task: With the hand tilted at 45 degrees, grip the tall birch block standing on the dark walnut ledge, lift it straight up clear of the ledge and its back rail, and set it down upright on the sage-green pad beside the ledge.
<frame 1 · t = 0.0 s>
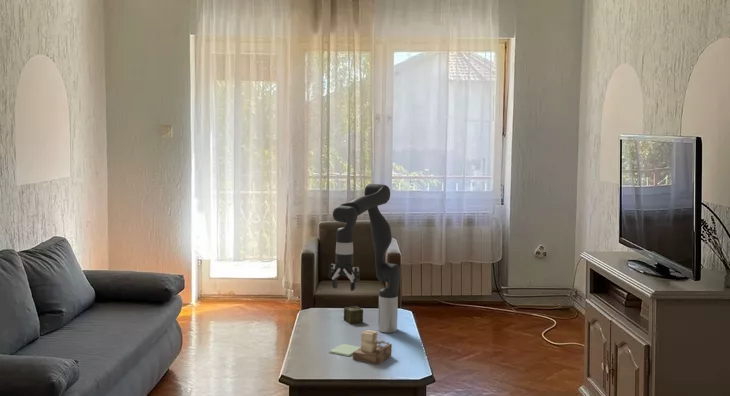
hand: (343, 289, 313), 29 cm above the table, tool pointing down, fingers open, 8 cm apart
walnut ledge: (370, 357, 314), on the table
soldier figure: (376, 347, 329), on the table
olive green cube: (353, 322, 370), on the table
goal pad: (345, 350, 322), on the table
birch block: (368, 350, 314), point 3 cm above the table, touching walnut ledge
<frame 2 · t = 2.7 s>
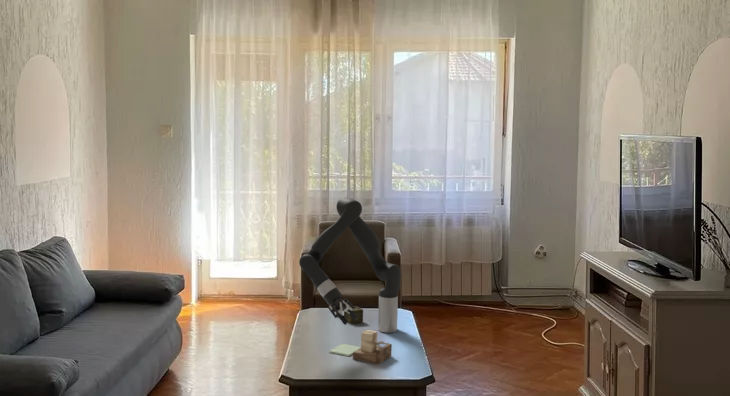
hand: (351, 321, 317), 14 cm above the table, tool tilted 45°, fingers open, 8 cm apart
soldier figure: (374, 348, 328), on the table
everything else where it was.
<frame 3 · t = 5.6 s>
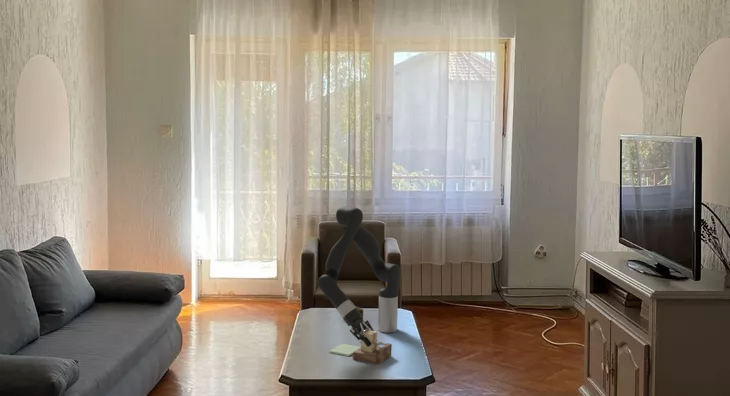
hand: (372, 343, 313), 6 cm above the table, tool tilted 45°, fingers closed on birch block, 5 cm apart
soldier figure: (373, 349, 327), on the table
birch block: (368, 350, 314), point 3 cm above the table, touching gripper, walnut ledge
everything else where it was.
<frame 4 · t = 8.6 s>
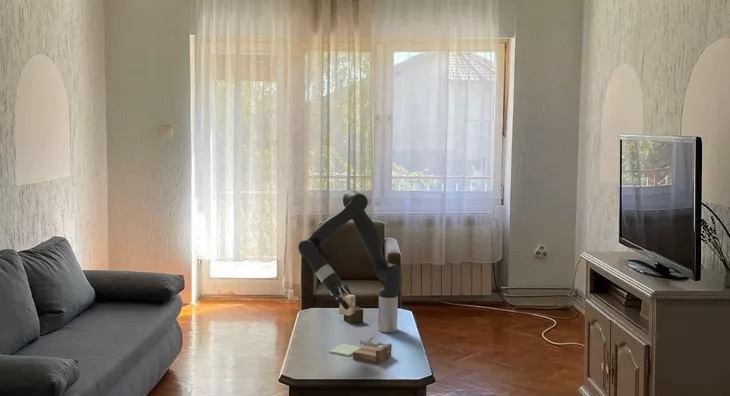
hand: (350, 307, 319), 20 cm above the table, tool tilted 45°, fingers closed on birch block, 5 cm apart
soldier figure: (373, 350, 325), on the table
birch block: (347, 313, 320), point 17 cm above the table, touching gripper
everything else where it was.
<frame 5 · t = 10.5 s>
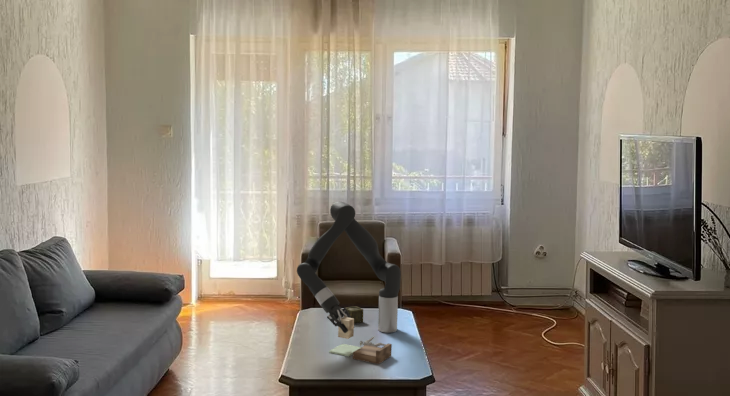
hand: (349, 330, 320), 10 cm above the table, tool tilted 45°, fingers closed on birch block, 5 cm apart
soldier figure: (373, 350, 325), on the table, touching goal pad
birch block: (345, 336, 321), point 7 cm above the table, touching gripper
everything else where it was.
when the fingers open (6 cm above the table, at t = 11.8 s): birch block drops 2 cm, resting on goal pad.
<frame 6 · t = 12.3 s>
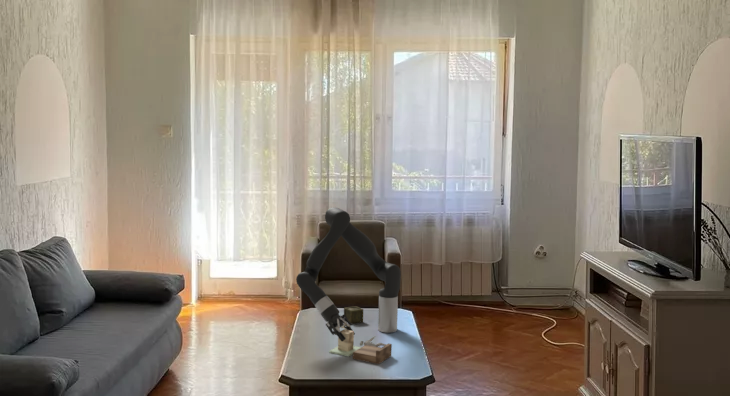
hand: (348, 337, 321), 6 cm above the table, tool tilted 45°, fingers open, 8 cm apart
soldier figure: (374, 350, 325), on the table
birch block: (345, 349, 322), point 1 cm above the table, touching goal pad
everything else where it was.
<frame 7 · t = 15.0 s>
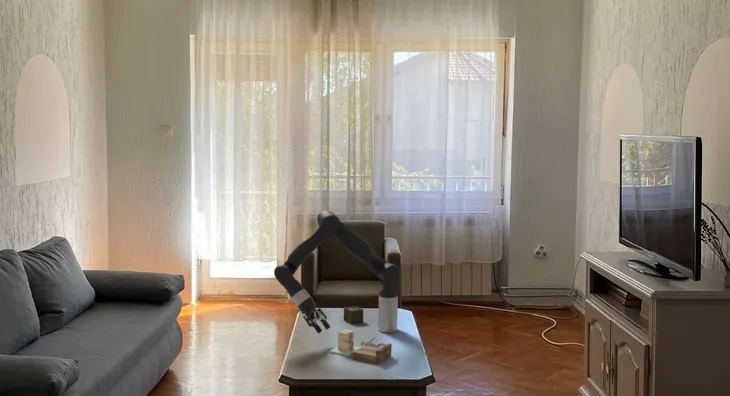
hand: (324, 330, 327), 7 cm above the table, tool tilted 45°, fingers open, 8 cm apart
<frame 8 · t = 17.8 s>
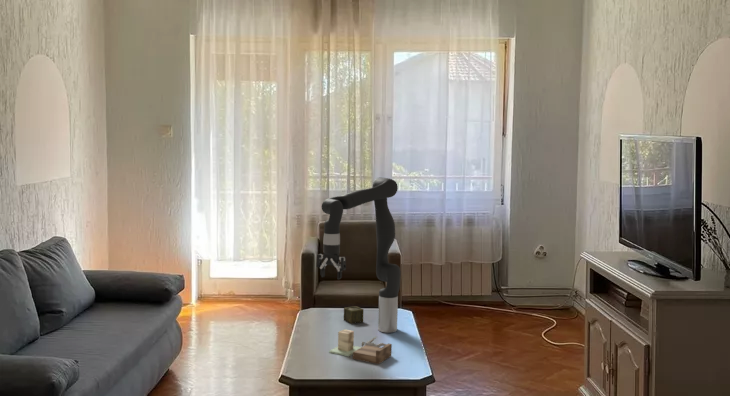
hand: (330, 278, 331), 30 cm above the table, tool pointing down, fingers open, 8 cm apart
at the end: birch block inside the target area on the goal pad (0.0 cm from its centre), point 0.8 cm above the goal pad's base; birch block tilted 0°; the gripper is holding nothing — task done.
